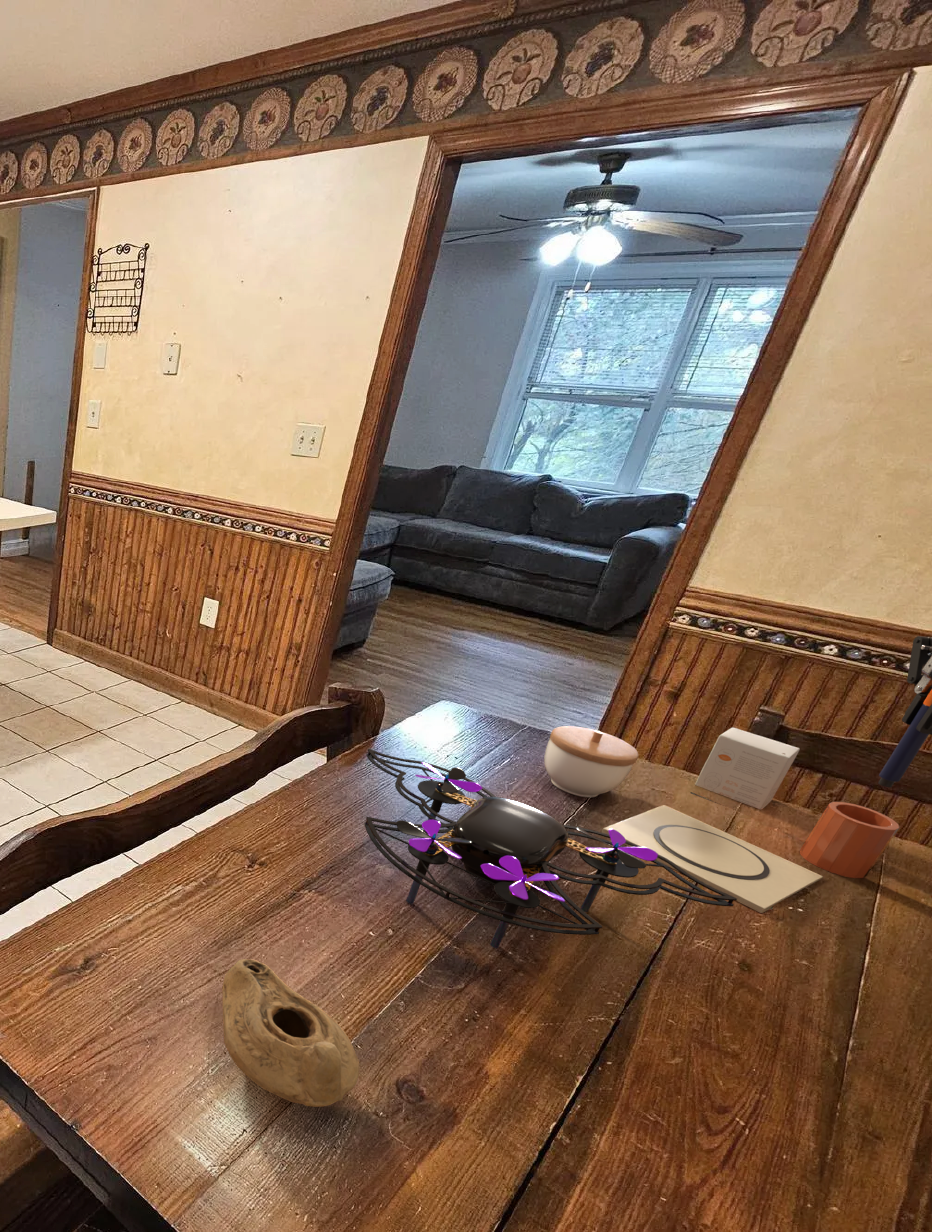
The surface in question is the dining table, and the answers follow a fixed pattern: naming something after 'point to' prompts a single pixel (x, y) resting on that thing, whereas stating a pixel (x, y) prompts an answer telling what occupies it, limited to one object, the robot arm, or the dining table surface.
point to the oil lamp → (285, 1038)
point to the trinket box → (587, 760)
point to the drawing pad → (716, 857)
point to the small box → (746, 767)
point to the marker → (905, 749)
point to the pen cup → (848, 839)
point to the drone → (514, 852)
